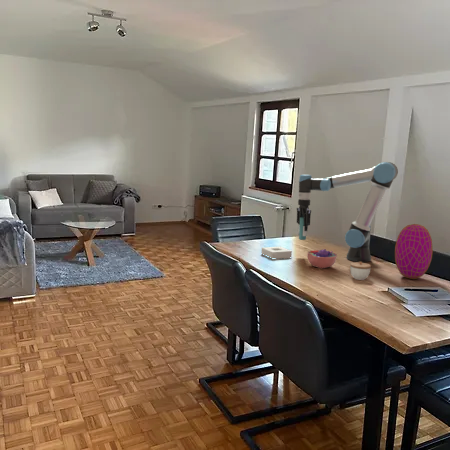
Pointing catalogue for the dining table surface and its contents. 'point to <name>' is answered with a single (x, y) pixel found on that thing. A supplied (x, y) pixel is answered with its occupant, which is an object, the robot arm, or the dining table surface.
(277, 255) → the socket block
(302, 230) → the peg
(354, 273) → the lidded jar
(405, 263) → the decorative egg
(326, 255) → the cell model
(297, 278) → the dining table surface
